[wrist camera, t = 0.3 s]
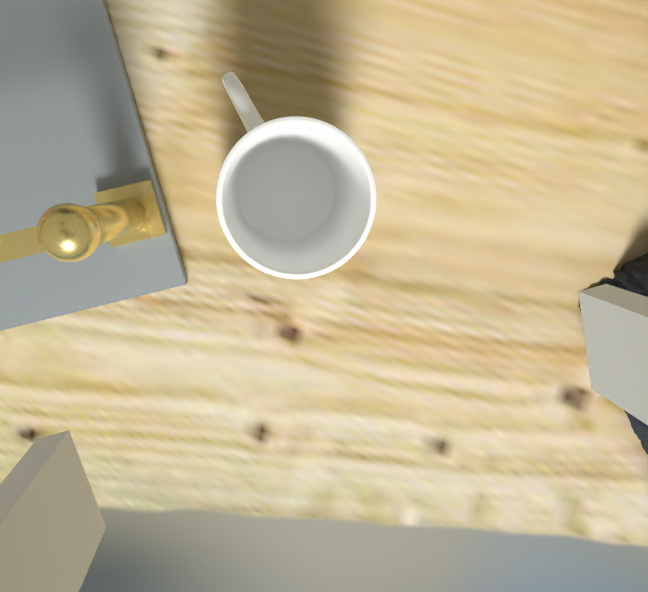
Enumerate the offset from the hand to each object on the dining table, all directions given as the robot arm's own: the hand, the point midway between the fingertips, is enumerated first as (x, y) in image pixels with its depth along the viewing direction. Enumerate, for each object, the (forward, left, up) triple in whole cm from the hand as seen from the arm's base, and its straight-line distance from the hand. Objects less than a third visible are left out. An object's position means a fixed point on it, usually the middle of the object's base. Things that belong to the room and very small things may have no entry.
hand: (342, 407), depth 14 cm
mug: (-6, +1, -28) cm, 28 cm away
